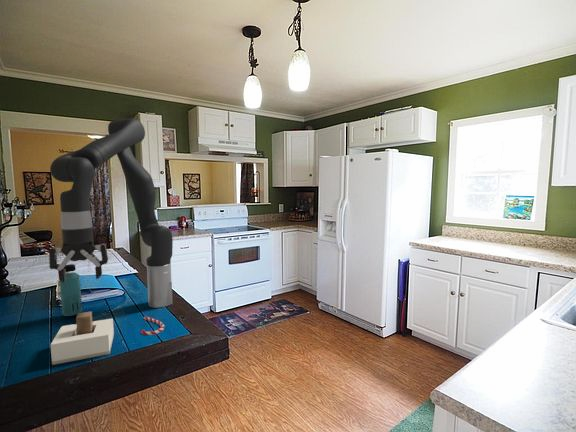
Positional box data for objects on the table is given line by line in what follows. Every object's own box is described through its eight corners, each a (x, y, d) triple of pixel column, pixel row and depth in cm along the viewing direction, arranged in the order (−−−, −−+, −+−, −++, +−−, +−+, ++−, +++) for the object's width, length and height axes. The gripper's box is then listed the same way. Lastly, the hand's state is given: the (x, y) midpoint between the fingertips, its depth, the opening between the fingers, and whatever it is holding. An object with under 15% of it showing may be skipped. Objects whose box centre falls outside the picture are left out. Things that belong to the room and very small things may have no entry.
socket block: (113, 335, 103) (112, 318, 102) (109, 353, 92) (108, 334, 91) (63, 344, 97) (61, 326, 96) (52, 364, 86) (50, 344, 85)
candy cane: (153, 313, 118) (168, 327, 107) (153, 317, 118) (168, 331, 107) (131, 319, 113) (144, 334, 102) (132, 323, 113) (145, 338, 102)
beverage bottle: (72, 320, 113) (68, 268, 111) (57, 319, 115) (53, 266, 112) (87, 313, 120) (83, 263, 117) (72, 311, 121) (69, 262, 119)
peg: (93, 341, 97) (91, 311, 96) (92, 347, 94) (89, 315, 92) (80, 344, 95) (78, 313, 94) (78, 349, 92) (75, 317, 91)
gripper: (106, 223, 96) (110, 273, 98) (51, 226, 91) (55, 279, 93) (103, 226, 90) (107, 280, 91) (43, 229, 84) (48, 287, 86)
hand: (81, 279), depth 92 cm, fingers open, 8 cm apart
